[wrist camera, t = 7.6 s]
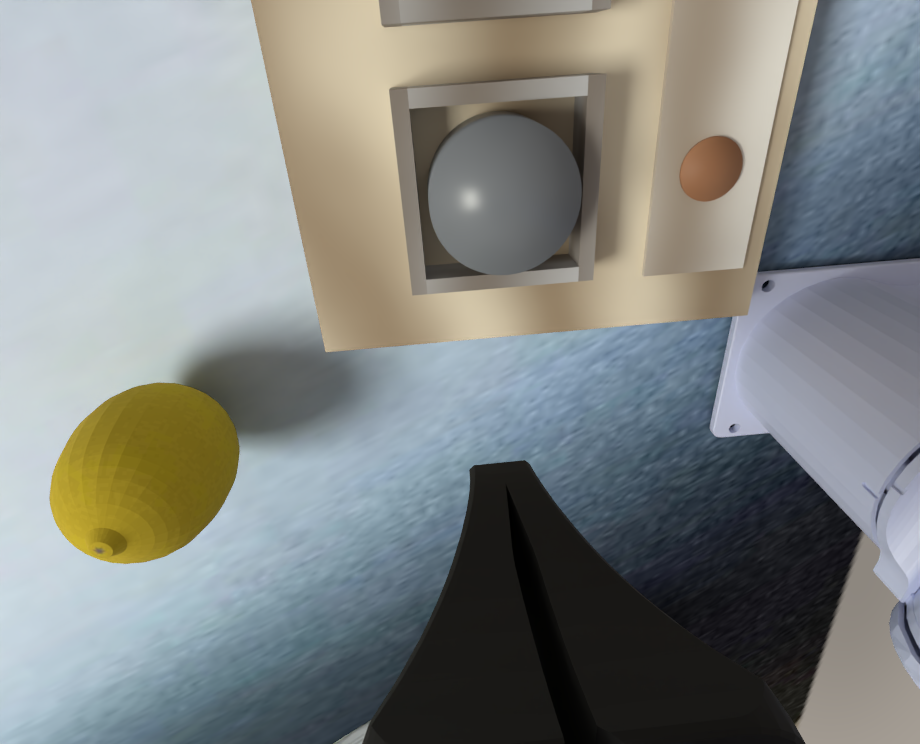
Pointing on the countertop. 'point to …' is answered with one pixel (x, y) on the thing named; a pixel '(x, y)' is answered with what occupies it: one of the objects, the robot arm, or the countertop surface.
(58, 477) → the lemon
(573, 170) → the button
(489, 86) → the button board
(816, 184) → the countertop surface
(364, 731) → the tea box
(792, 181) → the countertop surface
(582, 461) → the countertop surface
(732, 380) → the robot arm
